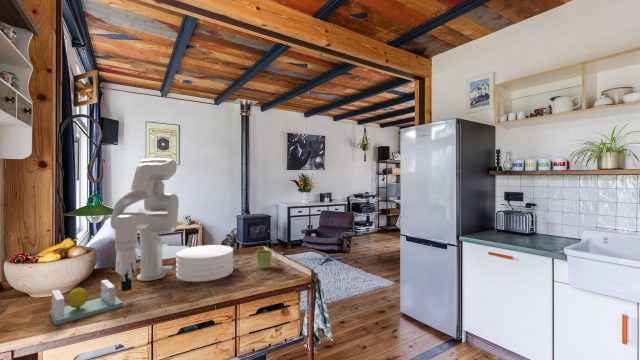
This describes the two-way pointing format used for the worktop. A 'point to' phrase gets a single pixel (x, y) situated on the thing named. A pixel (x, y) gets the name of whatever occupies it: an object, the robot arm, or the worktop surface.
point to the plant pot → (263, 258)
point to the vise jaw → (108, 292)
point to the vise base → (70, 313)
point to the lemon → (77, 298)
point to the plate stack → (204, 263)
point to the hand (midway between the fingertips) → (126, 290)
